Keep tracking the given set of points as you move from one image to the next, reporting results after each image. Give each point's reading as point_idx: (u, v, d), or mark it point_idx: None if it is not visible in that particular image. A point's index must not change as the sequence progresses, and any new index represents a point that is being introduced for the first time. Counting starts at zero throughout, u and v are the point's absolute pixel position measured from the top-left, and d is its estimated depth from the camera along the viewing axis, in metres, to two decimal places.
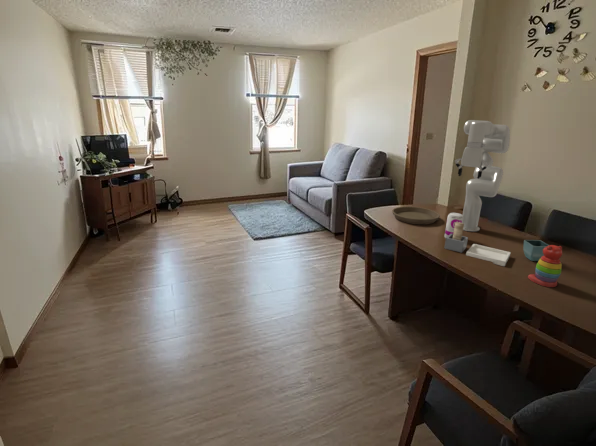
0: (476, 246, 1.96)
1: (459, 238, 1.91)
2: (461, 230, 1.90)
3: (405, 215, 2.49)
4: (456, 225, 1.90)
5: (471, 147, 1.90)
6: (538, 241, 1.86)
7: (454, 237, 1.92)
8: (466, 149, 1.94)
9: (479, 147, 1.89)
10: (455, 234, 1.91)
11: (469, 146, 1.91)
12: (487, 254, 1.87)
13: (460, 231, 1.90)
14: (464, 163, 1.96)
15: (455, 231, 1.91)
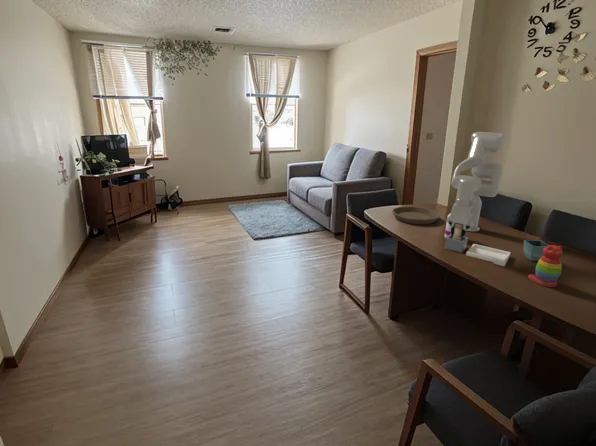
0: (476, 246, 1.96)
1: (459, 238, 1.91)
2: (461, 230, 1.90)
3: (405, 215, 2.49)
4: (456, 225, 1.90)
5: (459, 205, 1.85)
6: (538, 241, 1.86)
7: (454, 237, 1.92)
8: (454, 206, 1.88)
9: (468, 205, 1.84)
10: (455, 234, 1.91)
11: (457, 203, 1.86)
12: (487, 254, 1.87)
13: (460, 231, 1.90)
14: (453, 220, 1.90)
15: (455, 231, 1.91)
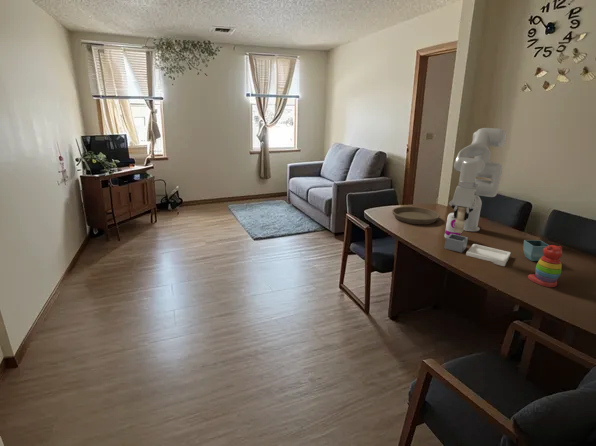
0: (476, 246, 1.96)
1: (462, 221, 1.88)
2: (464, 213, 1.87)
3: (405, 215, 2.49)
4: (459, 208, 1.87)
5: (463, 187, 1.82)
6: (538, 241, 1.86)
7: (457, 220, 1.90)
8: (457, 188, 1.85)
9: (471, 187, 1.81)
10: (458, 217, 1.89)
11: (460, 186, 1.83)
12: (487, 254, 1.87)
13: (463, 214, 1.87)
14: (456, 203, 1.87)
15: (458, 214, 1.88)
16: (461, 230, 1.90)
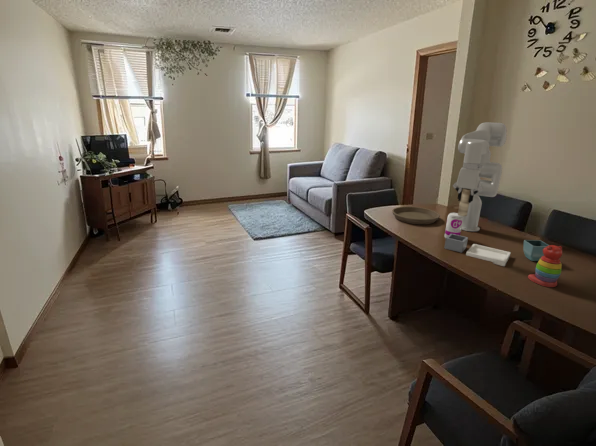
0: (476, 246, 1.96)
1: (466, 204, 1.85)
2: (468, 195, 1.83)
3: (405, 215, 2.49)
4: (463, 190, 1.84)
5: (467, 168, 1.78)
6: (538, 241, 1.86)
7: (461, 203, 1.86)
8: (462, 170, 1.81)
9: (476, 168, 1.77)
10: (462, 200, 1.85)
11: (465, 167, 1.79)
12: (487, 254, 1.87)
13: (467, 196, 1.83)
14: (460, 185, 1.84)
15: (462, 197, 1.85)
16: (465, 213, 1.86)
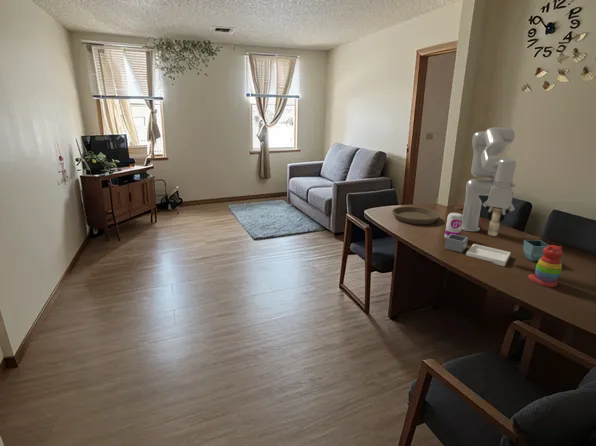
0: (476, 246, 1.96)
1: (497, 223, 1.79)
2: (500, 215, 1.77)
3: (405, 215, 2.49)
4: (494, 209, 1.78)
5: (499, 187, 1.73)
6: (538, 241, 1.86)
7: (492, 222, 1.80)
8: (493, 189, 1.76)
9: (508, 187, 1.71)
10: (493, 219, 1.79)
11: (497, 186, 1.73)
12: (487, 254, 1.87)
13: (499, 216, 1.77)
14: (491, 204, 1.78)
15: (493, 216, 1.79)
16: (496, 233, 1.80)
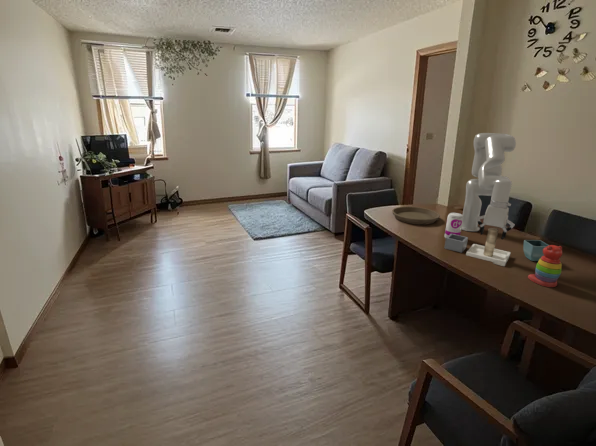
0: (476, 246, 1.96)
1: (493, 244, 1.83)
2: (495, 236, 1.81)
3: (405, 215, 2.49)
4: (490, 231, 1.82)
5: (495, 207, 1.76)
6: (538, 241, 1.86)
7: (487, 243, 1.84)
8: (489, 208, 1.79)
9: (504, 207, 1.75)
10: (489, 240, 1.83)
11: (493, 205, 1.77)
12: None
13: (494, 237, 1.82)
14: (487, 222, 1.81)
15: (489, 237, 1.83)
16: (491, 253, 1.84)
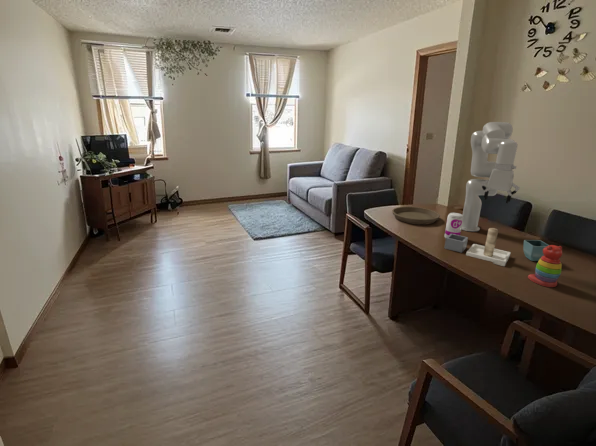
0: (476, 246, 1.96)
1: (493, 245, 1.83)
2: (495, 236, 1.81)
3: (405, 215, 2.49)
4: (490, 231, 1.82)
5: (500, 169, 1.73)
6: (538, 241, 1.86)
7: (487, 243, 1.84)
8: (494, 171, 1.76)
9: (509, 170, 1.72)
10: (488, 240, 1.83)
11: (498, 168, 1.74)
12: None
13: (494, 237, 1.81)
14: (491, 186, 1.78)
15: (489, 237, 1.83)
16: (491, 253, 1.84)
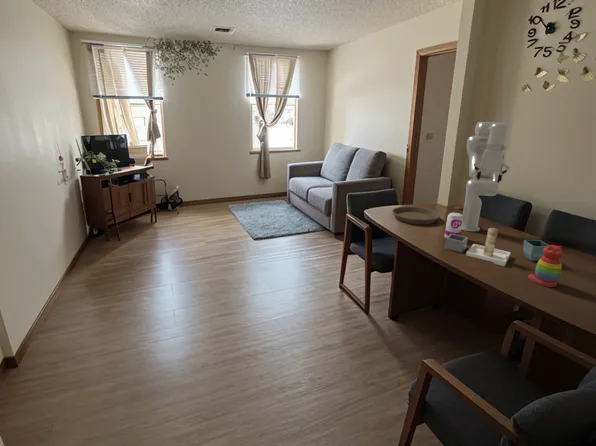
0: (476, 246, 1.96)
1: (493, 245, 1.83)
2: (495, 236, 1.81)
3: (405, 215, 2.49)
4: (490, 231, 1.82)
5: (491, 150, 1.84)
6: (538, 241, 1.86)
7: (487, 244, 1.84)
8: (486, 152, 1.87)
9: (500, 150, 1.83)
10: (488, 240, 1.83)
11: (489, 149, 1.85)
12: None
13: (494, 237, 1.81)
14: (483, 166, 1.89)
15: (488, 237, 1.83)
16: (491, 253, 1.84)
